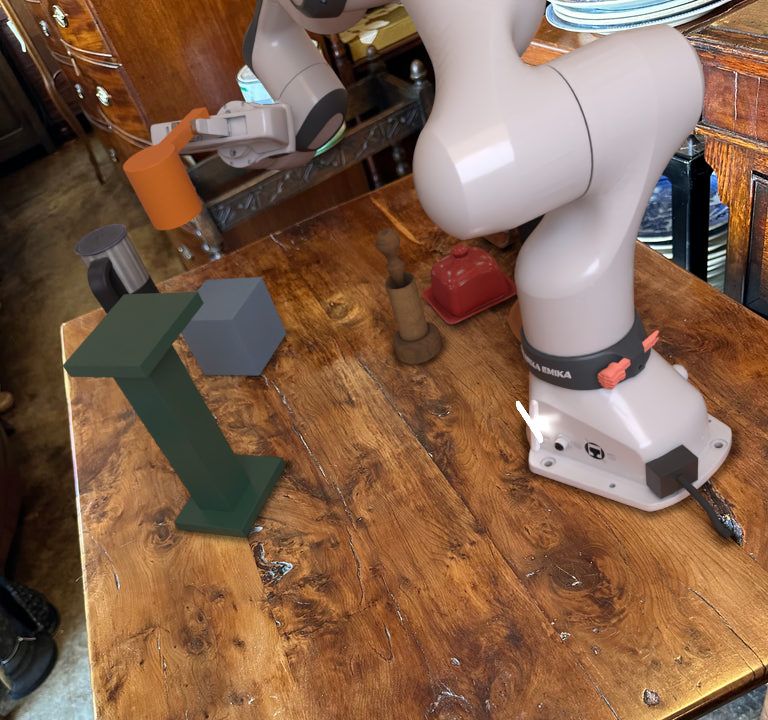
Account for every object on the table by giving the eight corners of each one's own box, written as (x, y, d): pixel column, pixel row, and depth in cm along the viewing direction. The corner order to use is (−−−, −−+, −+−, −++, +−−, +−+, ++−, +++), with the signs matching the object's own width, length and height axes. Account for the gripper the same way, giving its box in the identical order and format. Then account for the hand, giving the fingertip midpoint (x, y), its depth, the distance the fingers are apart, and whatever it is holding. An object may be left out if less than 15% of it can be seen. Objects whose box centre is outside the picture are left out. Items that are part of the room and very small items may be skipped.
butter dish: (419, 298, 117) (405, 247, 111) (489, 266, 118) (478, 213, 112) (450, 334, 109) (437, 281, 103) (525, 299, 110) (516, 245, 104)
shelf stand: (222, 460, 104) (123, 294, 86) (286, 465, 100) (198, 291, 82) (178, 530, 98) (61, 365, 79) (246, 538, 93) (139, 366, 75)
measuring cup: (203, 166, 113) (177, 109, 107) (243, 161, 110) (219, 102, 104) (144, 232, 103) (112, 174, 98) (186, 228, 100) (157, 168, 95)
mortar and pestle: (438, 362, 106) (405, 242, 93) (392, 366, 108) (354, 250, 95) (445, 331, 110) (414, 213, 97) (401, 336, 112) (365, 221, 99)
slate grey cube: (232, 333, 125) (206, 279, 118) (286, 333, 121) (262, 276, 114) (203, 375, 119) (173, 320, 112) (259, 375, 115) (231, 319, 108)
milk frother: (117, 312, 140) (72, 238, 130) (199, 277, 141) (160, 200, 130) (123, 352, 130) (74, 275, 120) (211, 315, 131) (170, 234, 120)
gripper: (183, 120, 118) (119, 111, 107) (301, 102, 110) (244, 90, 98) (189, 165, 121) (127, 161, 109) (305, 151, 112) (250, 145, 100)
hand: (183, 127), depth 104 cm, fingers closed on measuring cup, 2 cm apart
